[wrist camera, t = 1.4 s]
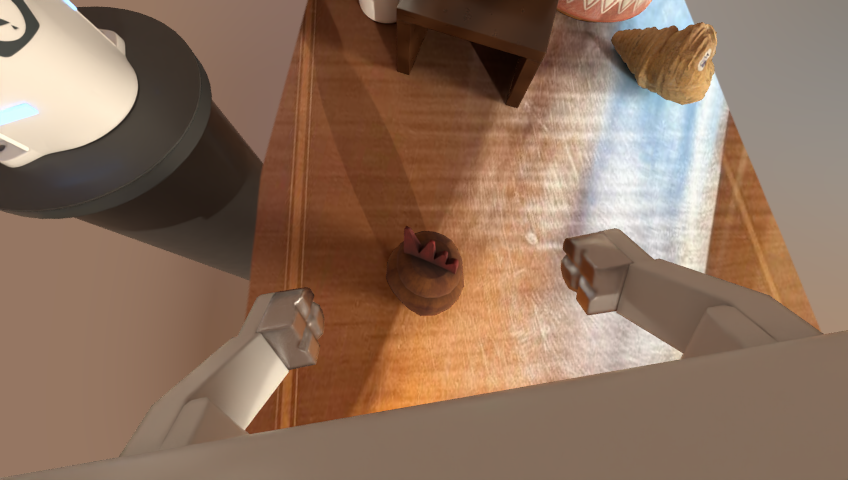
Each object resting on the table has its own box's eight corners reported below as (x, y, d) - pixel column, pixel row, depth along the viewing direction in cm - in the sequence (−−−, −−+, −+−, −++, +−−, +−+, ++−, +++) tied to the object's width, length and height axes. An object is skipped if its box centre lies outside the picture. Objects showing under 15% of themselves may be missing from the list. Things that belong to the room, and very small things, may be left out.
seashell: (598, 76, 47) (581, 75, 42) (630, 11, 42) (615, 1, 37) (698, 106, 41) (693, 110, 35) (749, 35, 36) (753, 26, 31)
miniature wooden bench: (397, 71, 39) (395, -51, 27) (424, 7, 43) (434, -127, 30) (517, 108, 39) (572, 1, 26) (535, 41, 42) (590, -81, 30)
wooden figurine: (377, 280, 31) (357, 233, 17) (418, 242, 32) (432, 170, 18) (424, 329, 30) (445, 325, 16) (464, 288, 31) (517, 250, 17)
